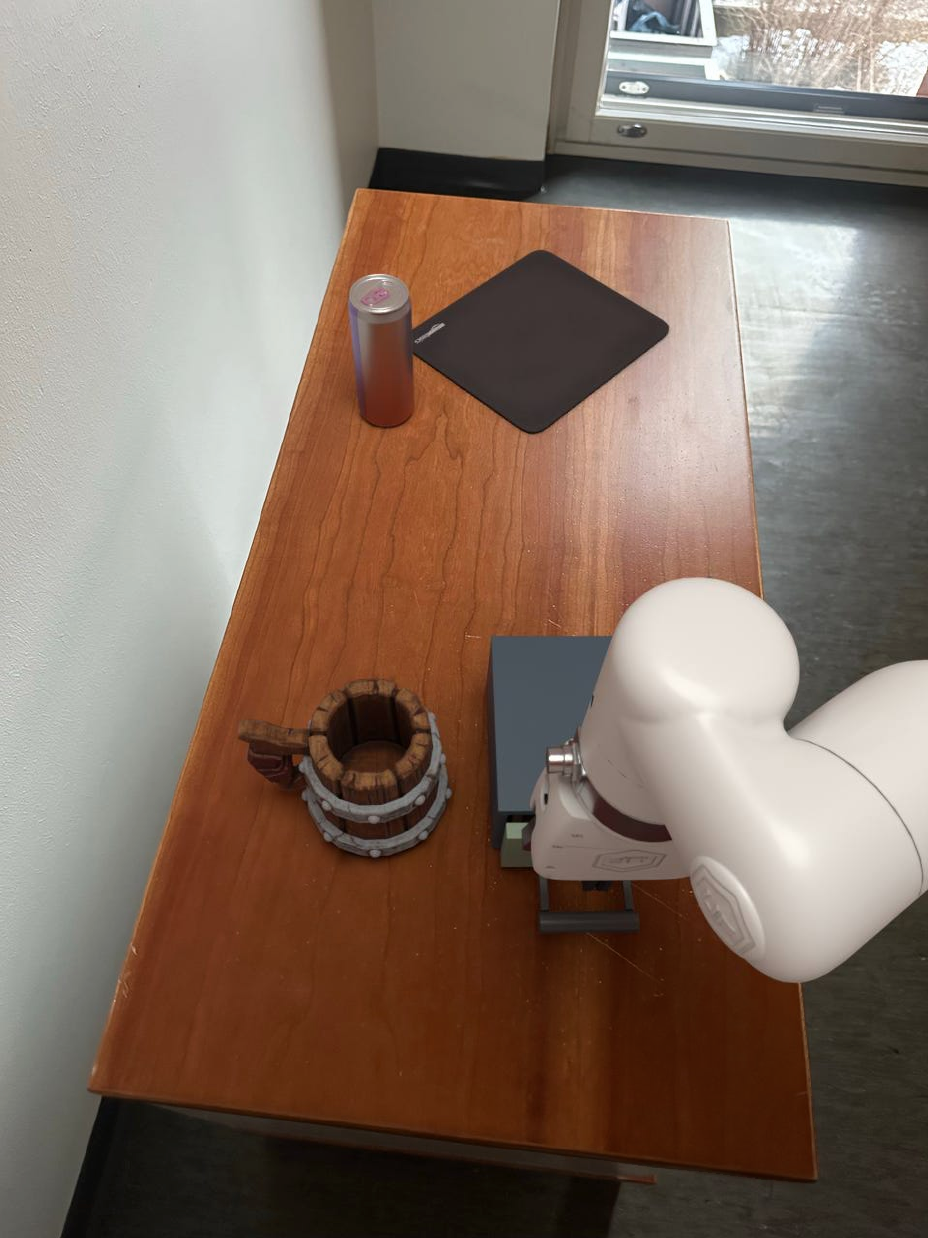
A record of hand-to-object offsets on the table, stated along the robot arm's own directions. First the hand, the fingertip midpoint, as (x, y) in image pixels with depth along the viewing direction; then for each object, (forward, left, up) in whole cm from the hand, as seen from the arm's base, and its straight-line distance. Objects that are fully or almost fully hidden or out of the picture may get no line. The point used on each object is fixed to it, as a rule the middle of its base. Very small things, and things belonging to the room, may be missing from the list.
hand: (592, 869), depth 60 cm
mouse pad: (+65, -1, -10) cm, 66 cm away
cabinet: (+12, 0, -10) cm, 15 cm away
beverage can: (+53, +16, -10) cm, 56 cm away
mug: (+9, +17, -10) cm, 22 cm away
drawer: (+7, 0, -9) cm, 11 cm away
